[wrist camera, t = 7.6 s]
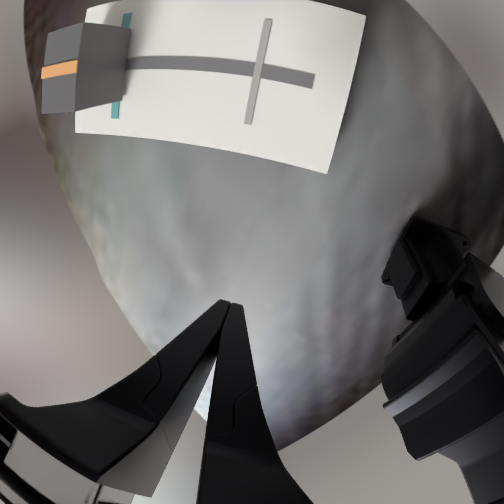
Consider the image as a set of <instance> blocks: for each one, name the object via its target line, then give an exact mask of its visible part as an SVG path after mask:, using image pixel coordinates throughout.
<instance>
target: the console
mask: <svg viewBox="0 0 504 504" xmlns="http://www.w3.org/2000/svg"><path fill="white" fill-rule="evenodd" d="M365 19H366V16H365V15H362V14H359V13H355V12H352V11H349V10H345V9H342V8H338V7H335V6H331V5H327V4H323V3H318V2H314V1H309V0H120V1H116V2H111V3H107V4H103V5H99V6H95V7H92V8H88V9H87V14H86V19H85V22H88V23H97V24H105V25H112V26H119V27H125V28H130V29H131V35H130V41H129V47H128V54H127V61H126V69H125V77H124V88H123V99H122V101H118V102H113V103H108V104H104V105H100V106H96V107H91V108H88V109H84V110H80V111H76V116H75V131H76V133H92V134H107V135H120V136H131V137H141V138H150V139H158V140H166V141H173V142H180V143H187V144H193V145H199V146H205V147H211V148H217V149H222V150H227V151H233V152H238V153H242V154H247V155H252V156H257V157H261V158H266V159H270V160H274V161H278V162H283V163H287V164H291V165H295V166H298V167H302V168H306V169H310V170H313V171H317V172H321V173H324V174H327V172H328V168H329V165H330V162H331V158H332V155H333V151H334V148H335V144H336V140H337V137H338V133H339V130H340V126H341V122H342V118H343V115H344V111H345V107H346V103H347V99H348V95H349V91H350V87H351V83H352V79H353V75H354V70H355V66H356V62H357V57H358V53H359V48H360V44H361V39H362V34H363V29H364V24H365Z"/></svg>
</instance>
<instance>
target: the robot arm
mask: <svg viewBox="0 0 504 504" xmlns="http://www.w3.org/2000/svg"><path fill="white" fill-rule="evenodd" d="M414 222H417V224H416V225H413V224H414ZM464 241H465V242H464ZM463 242H464V243H463ZM468 245H469V239H468V238H467V237H466V236H464V235H462V234H459V233H457V232H455V231H452V230H450V229H447V228H445V227H443V226H440V225H438V224H435V223H432V222H430V221H427V220H425V219H422V218H419V217H416V216H414V217H412V218H411V219H410V220H409V223H408V225H407V227H406V229H405V231H404V233H403V235H402V237H401V239H399V240H398V242H397V244H396V246H395V248H394V250H393V252H392V254H391V256H390V258H389V260H388V262H387V264H386V265H387V267H386V269H385V271H384V273H383V274H382V277H381V279H382V282H383V283H384V284H386V285H390V286H394V290H395V293H396V296H397V298H398V299H401V302H402V305H403V309H404V312H405V315H406V319H407V320H411V321H413V322H412V323H411V324H410V325H409V326H408V327H407V328H406V329H405V330H404V331H403V332H402V333H401V334H400V335H397V336H396V337H395V338H394V339H393V343H392V348H391V349H390V350H389V352H388V354H387V355H386V357H385V362H384V371H383V372H382V373H381V380H382V386H383V388H384V391H385V394H386V396H387V398H388V400H389V401H387V402H386V403H384V404H383V408H384V409H385V410H386V411H387V412H388V413H389V414H390V415H391V416H392V417H393V419H394V420H395V422H396V423H397V425H398V426H399V428H400V431H401V434H402V437H403V439H404V443H405V446H406V449H407V451H408V452H409V453H410V455H412V457H413V458H414V459H415V460H418V461H419V460H421V459H424V458H426V457H429V456H431V455H433V454H435V453H437V452H438V453H440V454H442V455H444V456H445V457H447V458H450V459H451V460H454V461H455V462H457V464H458V465H459V467H460V469H461V472H462V474H463V476H464V479H465V481H466V483H467V486H468V488H469V491H470V494H471V496H472V499H473V501H474V504H504V278H503V277H502V275H500V274H499V273H498V272H496V271H495V270H494V269H492V268H491V267H490V266H488V265H487V264H485V263H484V262H483V261H481V260H480V259H478V258H477V257H476V256H474V255H473V254H471V253H470V252H468V253H467V255H466V256H465V258H464V257H463V254H464V252H465V250H466V249H467V247H468ZM387 277H389V278H388V279H386V278H387ZM216 358H217V359H216ZM215 360H216V366H215V372H214V379H213V385H212V392H211V398H210V405H209V412H208V419H207V426H206V433H205V440H204V447H203V454H202V455H203V456H202V462H201V469H200V477H199V485H198V492H197V500H196V504H314V503H313V502H312V501H311V500H310V499H309V497H308V496H307V495H306V494H305V493H304V491H303V490H302V489H301V488H300V486H299V485H298V484H297V483H296V481H295V480H294V479H293V478H292V476H291V475H290V474H289V472H288V471H287V470H286V468H285V467H284V465H283V463H282V461H281V459H280V457H279V455H278V452H277V450H276V447H275V444H274V441H273V439H272V436H271V433H270V431H269V428H268V425H267V422H266V419H265V416H264V413H263V409H262V405H261V401H260V397H259V392H258V386H256V385H257V382H256V376H255V371H254V365H253V360H252V354H251V349H250V343H249V337H248V332H247V326H246V320H245V314H244V309H243V306H242V305H240V304H236V303H230V302H229V301H225V300H222V299H220V300H218V301H217V302H216V303H215V304H214V305H213V306H211V307H210V308H209V309H208V310H207V311H206V312H204V313H203V314H202V315H201V316H200V317H199V318H198V319H196V320H195V321H194V322H193V323H192V324H191V325H189V326H188V327H187V328H186V329H185V330H184V331H182V332H181V333H180V334H179V335H178V336H177V337H175V338H174V339H173V340H172V341H171V342H170V343H168V344H167V345H166V346H165V347H164V348H163V349H161V350H160V351H159V352H158V353H157V354H156V355H154V356H153V357H152V358H151V359H150V360H148V361H147V362H146V363H145V364H143V365H142V366H141V367H140V368H138V369H137V370H136V371H134V372H133V373H131V374H130V375H128V376H127V377H126V378H124V379H122V380H121V381H119V382H117V383H116V384H114V385H113V386H111V387H109V388H108V389H106V390H105V391H103V392H101V393H100V394H98V395H96V396H95V397H92V398H90V399H87V400H85V401H80V402H74V403H67V404H61V405H52V406H44V407H29V406H26V405H23V404H22V403H20V402H19V401H18V400H16V399H15V398H14V397H13V396H12V395H10V394H9V393H8V392H5V393H1V394H0V499H1V500H2V501H3V502H4V503H5V504H131V503H132V500H133V497H134V495H135V494H137V495H142V496H146V497H152V495H153V493H154V491H155V489H156V487H157V485H158V483H159V481H160V479H161V476H162V474H163V472H164V470H165V468H166V466H167V464H168V461H169V460H170V458H171V455H172V453H173V451H174V449H175V447H176V445H177V443H178V440H179V438H180V436H181V434H182V432H183V430H184V428H185V425H186V423H187V421H188V419H189V417H190V415H191V413H192V410H193V408H194V406H195V404H196V402H197V400H198V398H199V395H200V393H201V391H202V389H203V387H204V385H205V382H206V380H207V378H208V376H209V374H210V371H211V369H212V367H213V365H214V363H215Z"/></svg>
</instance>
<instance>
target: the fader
mask: <svg viewBox="0 0 504 504" xmlns="http://www.w3.org/2000/svg"><path fill="white" fill-rule="evenodd" d="M130 35H131V29H130V28H125V27H119V26H112V25H105V24H97V23H88V22H82V23H79V24H75V25H72V26H69V27H65V28H62V29H59V30H56V31H54V32H51V33H48V38H47V44H46V52H45V60H44V67H43V68H42V75H41V79H43V86H42V114H46V113H63V112H76V111H80V110H84V109H88V108H91V107H96V106H100V105H104V104H108V103H113V102H118V101H122V99H123V88H124V77H125V69H126V61H127V54H128V47H129V41H130Z"/></svg>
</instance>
